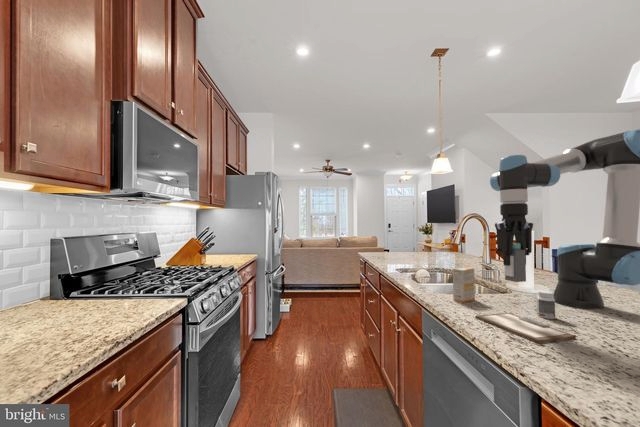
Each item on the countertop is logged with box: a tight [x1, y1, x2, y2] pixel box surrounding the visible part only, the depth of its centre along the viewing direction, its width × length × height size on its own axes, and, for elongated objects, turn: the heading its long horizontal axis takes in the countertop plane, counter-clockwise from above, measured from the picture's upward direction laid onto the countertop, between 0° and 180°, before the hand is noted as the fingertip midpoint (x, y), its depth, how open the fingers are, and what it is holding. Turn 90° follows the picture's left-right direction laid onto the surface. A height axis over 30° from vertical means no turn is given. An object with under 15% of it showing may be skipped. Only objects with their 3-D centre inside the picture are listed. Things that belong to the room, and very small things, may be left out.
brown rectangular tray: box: [475, 312, 577, 344], centre depth 91 cm, size 13×22×1 cm, turn 14°
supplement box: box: [452, 266, 476, 303], centre depth 124 cm, size 8×5×13 cm, turn 122°
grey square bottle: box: [504, 242, 527, 283], centre depth 97 cm, size 4×4×12 cm
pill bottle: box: [536, 290, 556, 320], centre depth 101 cm, size 5×5×8 cm
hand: (515, 275), depth 97 cm, fingers closed on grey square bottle, 4 cm apart
